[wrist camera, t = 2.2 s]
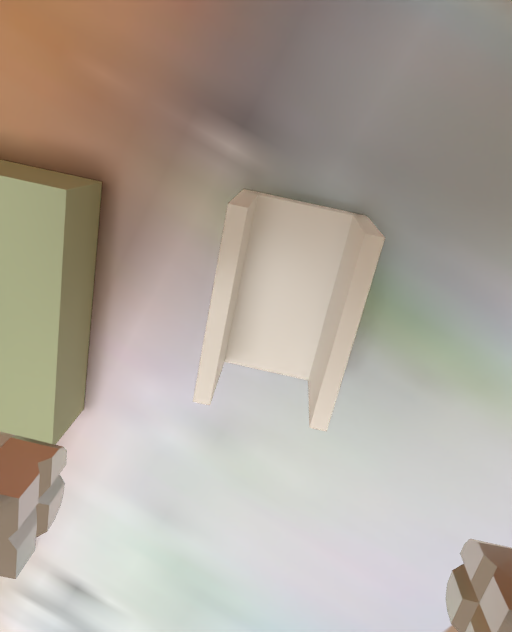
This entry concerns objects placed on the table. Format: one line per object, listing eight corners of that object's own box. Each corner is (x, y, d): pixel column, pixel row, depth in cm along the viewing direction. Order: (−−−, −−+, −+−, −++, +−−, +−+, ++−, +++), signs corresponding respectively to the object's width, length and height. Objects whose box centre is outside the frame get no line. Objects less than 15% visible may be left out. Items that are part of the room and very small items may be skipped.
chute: (244, 188, 21) (227, 203, 17) (366, 215, 21) (384, 238, 16) (213, 349, 24) (192, 401, 19) (321, 373, 24) (326, 431, 19)
